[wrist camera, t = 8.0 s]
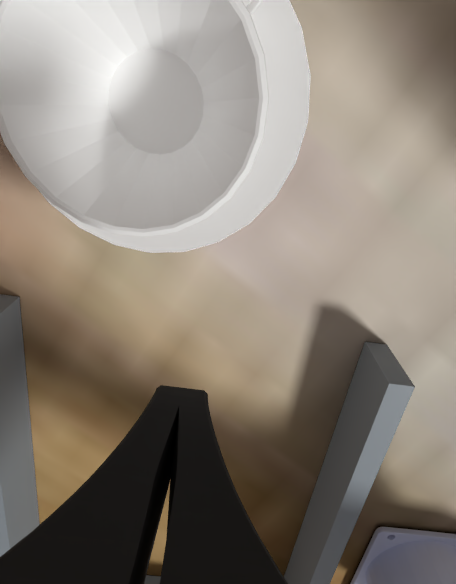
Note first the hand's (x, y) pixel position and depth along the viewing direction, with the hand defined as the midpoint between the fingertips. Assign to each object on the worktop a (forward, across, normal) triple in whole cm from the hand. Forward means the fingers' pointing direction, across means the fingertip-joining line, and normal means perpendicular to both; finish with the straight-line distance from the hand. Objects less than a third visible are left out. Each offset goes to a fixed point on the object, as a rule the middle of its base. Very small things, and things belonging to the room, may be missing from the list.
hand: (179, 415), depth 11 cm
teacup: (+9, +3, -8) cm, 13 cm away
